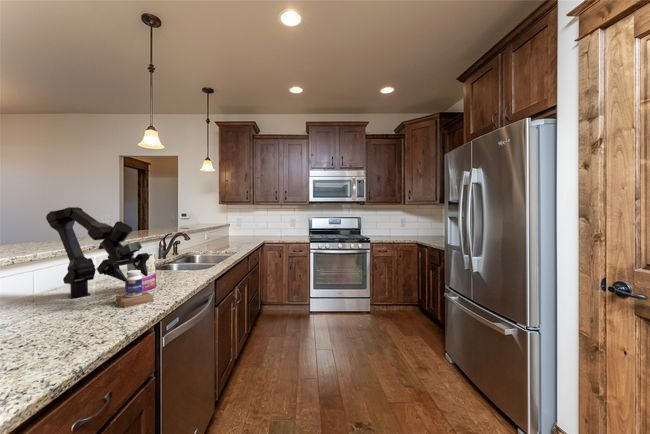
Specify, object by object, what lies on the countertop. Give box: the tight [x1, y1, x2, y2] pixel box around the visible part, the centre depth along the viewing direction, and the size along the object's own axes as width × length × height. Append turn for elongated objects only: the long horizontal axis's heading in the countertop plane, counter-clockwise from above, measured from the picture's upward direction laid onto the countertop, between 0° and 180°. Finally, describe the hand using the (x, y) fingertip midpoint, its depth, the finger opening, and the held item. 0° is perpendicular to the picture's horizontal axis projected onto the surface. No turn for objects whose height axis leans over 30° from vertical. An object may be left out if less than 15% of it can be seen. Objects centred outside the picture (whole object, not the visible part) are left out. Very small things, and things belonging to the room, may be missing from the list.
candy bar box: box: [126, 252, 157, 292], centre depth 129 cm, size 11×5×16 cm, turn 168°
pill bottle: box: [124, 270, 142, 297], centre depth 113 cm, size 6×6×10 cm
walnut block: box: [115, 291, 154, 309], centre depth 113 cm, size 10×10×2 cm
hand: (136, 278), depth 112 cm, fingers open, 9 cm apart
